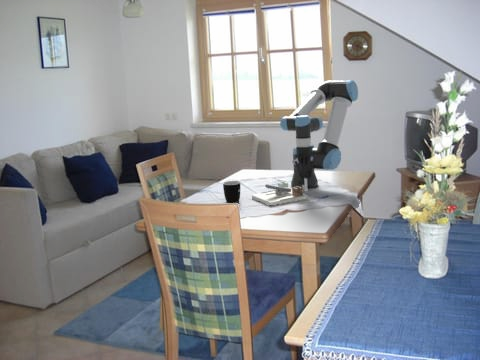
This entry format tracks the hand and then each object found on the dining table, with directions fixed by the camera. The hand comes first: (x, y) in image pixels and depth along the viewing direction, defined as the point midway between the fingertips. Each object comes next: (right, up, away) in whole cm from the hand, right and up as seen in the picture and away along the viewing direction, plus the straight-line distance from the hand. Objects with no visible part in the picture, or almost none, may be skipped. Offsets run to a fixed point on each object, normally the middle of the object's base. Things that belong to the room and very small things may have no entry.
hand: (304, 190), depth 293 cm
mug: (-38, -6, +3) cm, 38 cm away
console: (-13, -4, +2) cm, 14 cm away
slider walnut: (-4, -2, -2) cm, 5 cm away
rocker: (-14, +1, +1) cm, 14 cm away
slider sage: (-11, 0, +11) cm, 15 cm away
